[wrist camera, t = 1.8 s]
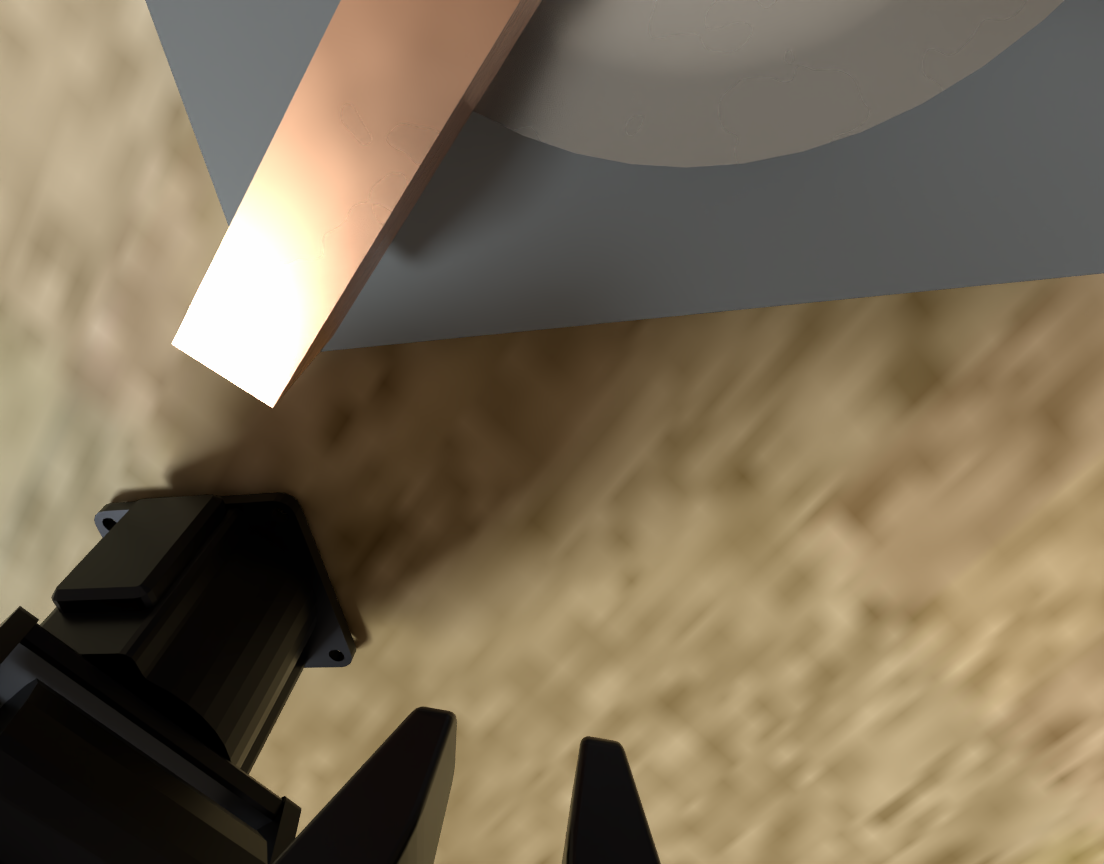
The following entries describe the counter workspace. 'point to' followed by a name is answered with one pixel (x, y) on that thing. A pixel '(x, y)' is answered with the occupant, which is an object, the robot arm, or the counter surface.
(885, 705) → the counter surface
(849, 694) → the counter surface
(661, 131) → the grey disc with handle
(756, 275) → the post plate
